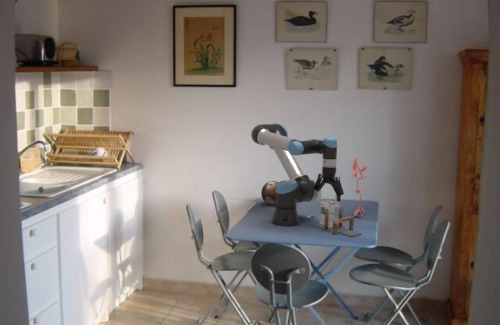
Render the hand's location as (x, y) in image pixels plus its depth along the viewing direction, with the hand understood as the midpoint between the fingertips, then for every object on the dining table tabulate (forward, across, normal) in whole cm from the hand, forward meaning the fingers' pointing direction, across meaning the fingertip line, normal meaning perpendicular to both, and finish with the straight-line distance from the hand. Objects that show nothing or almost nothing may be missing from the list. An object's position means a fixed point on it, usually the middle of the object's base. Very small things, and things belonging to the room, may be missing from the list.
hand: (327, 205), depth 324 cm
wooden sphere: (+12, -58, +12) cm, 60 cm away
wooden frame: (+12, +8, 0) cm, 15 cm away
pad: (+13, +17, 0) cm, 21 cm away
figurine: (+12, -11, +34) cm, 38 cm away
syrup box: (+13, 0, 0) cm, 13 cm away
